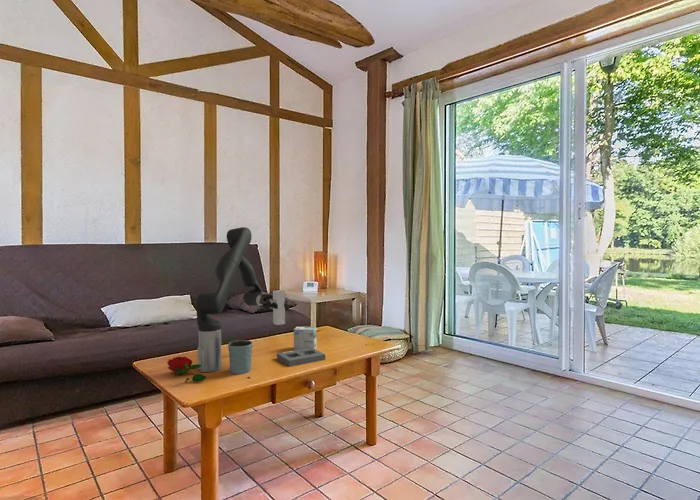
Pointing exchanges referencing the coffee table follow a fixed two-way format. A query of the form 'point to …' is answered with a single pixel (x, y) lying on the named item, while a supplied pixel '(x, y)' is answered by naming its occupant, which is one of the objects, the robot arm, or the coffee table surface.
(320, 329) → the coffee table surface
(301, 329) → the light bulb box
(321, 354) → the socket board
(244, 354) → the green embossed pot
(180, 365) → the flower
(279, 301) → the square bit
